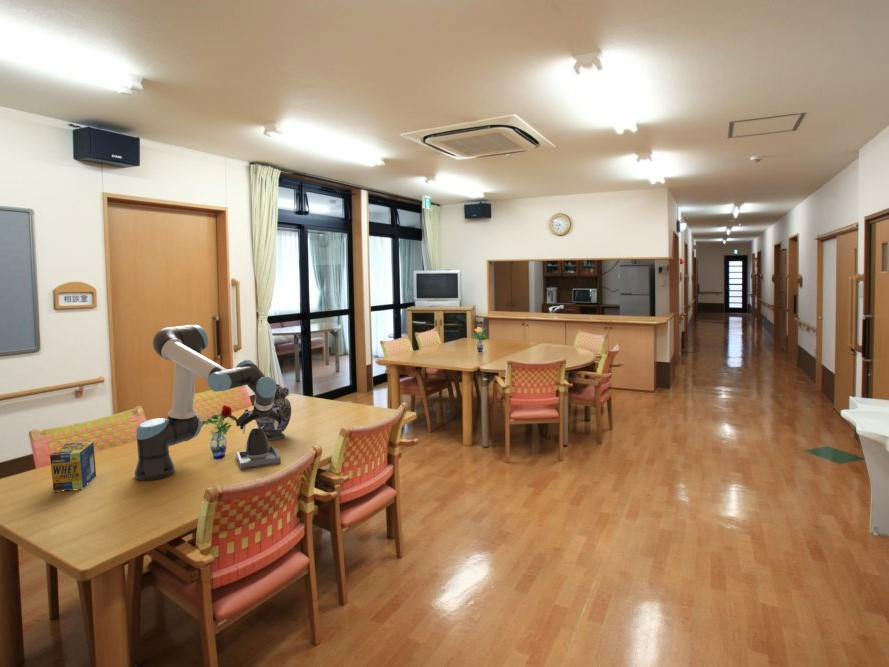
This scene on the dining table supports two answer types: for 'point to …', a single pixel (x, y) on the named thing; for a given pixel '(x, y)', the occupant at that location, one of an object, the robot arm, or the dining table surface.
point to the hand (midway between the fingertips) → (259, 429)
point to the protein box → (73, 466)
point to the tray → (248, 463)
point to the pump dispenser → (257, 444)
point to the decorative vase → (283, 406)
